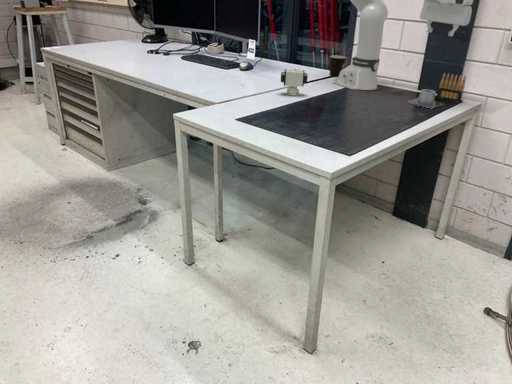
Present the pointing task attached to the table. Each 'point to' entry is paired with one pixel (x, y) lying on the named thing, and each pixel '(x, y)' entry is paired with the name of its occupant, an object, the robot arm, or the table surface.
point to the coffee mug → (336, 65)
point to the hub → (427, 96)
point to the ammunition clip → (451, 88)
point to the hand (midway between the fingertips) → (439, 34)
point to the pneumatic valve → (293, 80)
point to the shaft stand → (431, 106)
